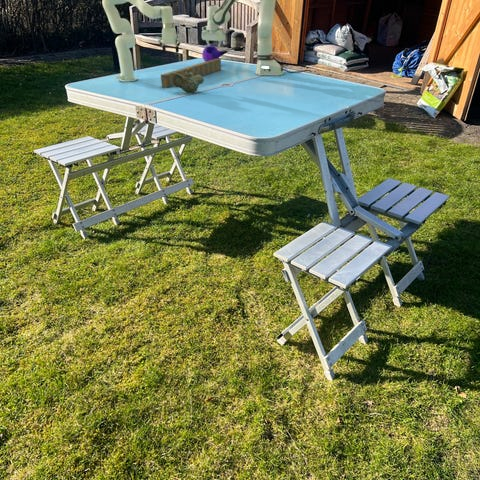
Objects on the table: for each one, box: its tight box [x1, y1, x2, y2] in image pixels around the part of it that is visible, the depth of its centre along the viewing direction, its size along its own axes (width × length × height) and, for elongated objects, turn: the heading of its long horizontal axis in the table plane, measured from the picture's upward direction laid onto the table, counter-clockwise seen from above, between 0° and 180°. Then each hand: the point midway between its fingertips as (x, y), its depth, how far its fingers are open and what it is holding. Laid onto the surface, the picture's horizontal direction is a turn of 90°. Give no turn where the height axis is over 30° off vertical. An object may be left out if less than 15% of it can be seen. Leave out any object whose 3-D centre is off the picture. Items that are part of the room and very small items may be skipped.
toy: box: [202, 44, 229, 62], centre depth 392 cm, size 16×18×27 cm
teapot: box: [173, 69, 205, 94], centre depth 298 cm, size 21×12×15 cm, turn 109°
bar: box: [160, 58, 222, 89], centre depth 345 cm, size 77×5×8 cm, turn 152°
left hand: (170, 52), depth 321 cm, fingers open, 9 cm apart
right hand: (213, 46), depth 362 cm, fingers open, 8 cm apart
